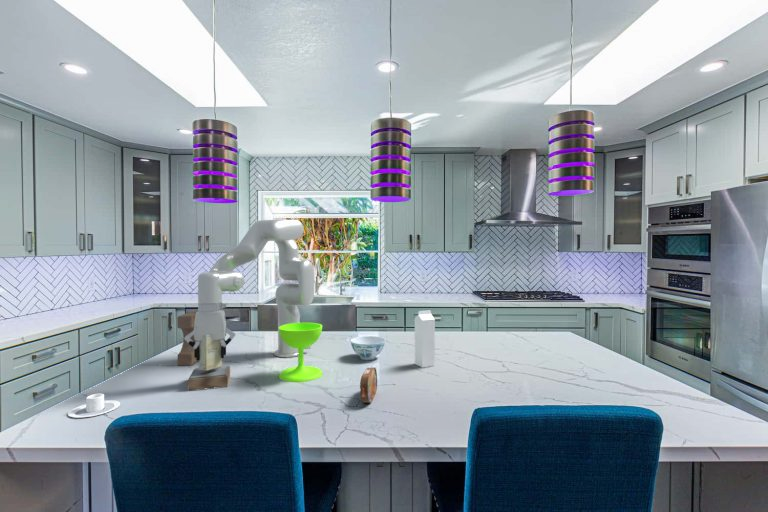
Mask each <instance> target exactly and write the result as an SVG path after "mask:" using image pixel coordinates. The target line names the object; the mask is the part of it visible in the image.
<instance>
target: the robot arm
mask: <svg viewBox="0 0 768 512" xmlns="http://www.w3.org/2000/svg"><path fill="white" fill-rule="evenodd" d="M304 228H305V227H304V225H303V223H302V222H301V221H300V220H299V219H295V218H294V219H261V220H257V221H255V222H254V223H253V224H252V225H251V226H250V228H249V229H248V231H247V232H246V234H244V236H243V238H242V239H241V240H240V242H239V243H238V245H237V246H235V247H234V248H233V249H232V248H231V249H230V250H229V251H228V252H226V253H225V254H223V255H222V256H221V257H220V258H219V259H218V260H216V262H215V263H214V264H213V266H212V267H211V268H210V269H209V271H208V272H201V273H199V274H198V277H197V305H198V306H197V307H198V308H197V311H195V312H196V316H195V323H194V330H193V331H192V332H191V333H189V334H188V335H187V336H185V338H184V339H185V340H186V341H187V342H188V343H189V345H190V346H192V347H193V348H194V357H195V358H196V361H197V362H199V344H200V342H201V341H203V335H212V340H214V341H216V340H219V341H220V342H221V344H222V347H221V358H222V359H224V357H225V356H227V345H229V344H230V343H231V341H232V340H234V338H235V337H236V333H235V332H234V331H232V330H231V329H229V328H228V327H227V319H226V313H225V310H224V308H225V309H227V303H223V296H222V295H223V292H228V293H229V292H237V291H240V290H241V289H242V288H243V287H244V284H245V277H244V275H243V274H242V273H241V272H239V271H234V270H235V269H236V268H238V267H240V266H242V265H245V264H247V263H250V262H253V261H254V260H257V258H258V257H259V256H260V254H261V253H262V250H263V249H264V247H265V246H266V244H267V243H268V242H273V241H274V243H275V244H276V246H277V249H278V272H279V273H278V274H279V277H280V278H281V279H282V280H284V281H296V282H297V283H292V282H291V283H289V282H286V283H282V284H280V285H278V286H277V288H276V289H275V301H276V306H277V349H276V350H275V351H274V356H276V357H278V358H294V357H298V349H297V348H293V347H290V346H289V345H287V344H286V343H285V342H284V341H283V340H282V338H281V336H280V334H279V327H280V326H282V325H285V324H291V323H301V321H300V320H301V315H300V310H299V307H298V306H302V307H303V306H304V307H306V306H309V305H311V304H312V302H313V301H314V297H315V270H314V265H313V264H312V262H311V261H310V260H308V259H304V258H302V259H301V258H299V257H300V256H299V247H298V243H297V242H296V240H298V239H300V238H301V237H302V236H303V234H304V231H305V229H304ZM227 334H228V335H229V337H228V338H227V339H226V336H227ZM193 335H194V340H195V341H196V343H195V342H194V341H192V340H191V339H190V337H192V336H193ZM310 349H311V346H309V347H306V348H303V350H310Z"/></svg>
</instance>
